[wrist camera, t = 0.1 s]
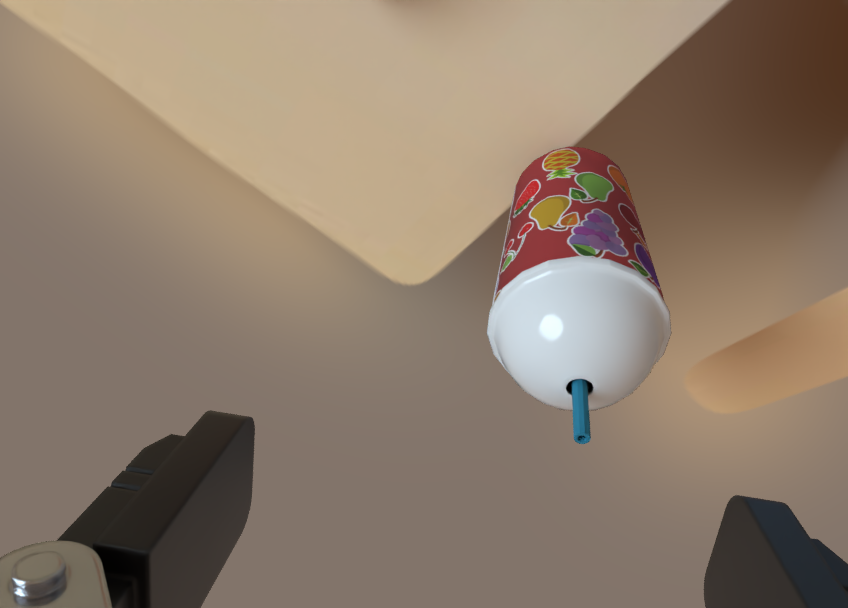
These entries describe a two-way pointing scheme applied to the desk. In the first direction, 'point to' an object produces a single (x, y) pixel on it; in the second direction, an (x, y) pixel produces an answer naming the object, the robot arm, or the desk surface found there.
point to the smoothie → (576, 288)
